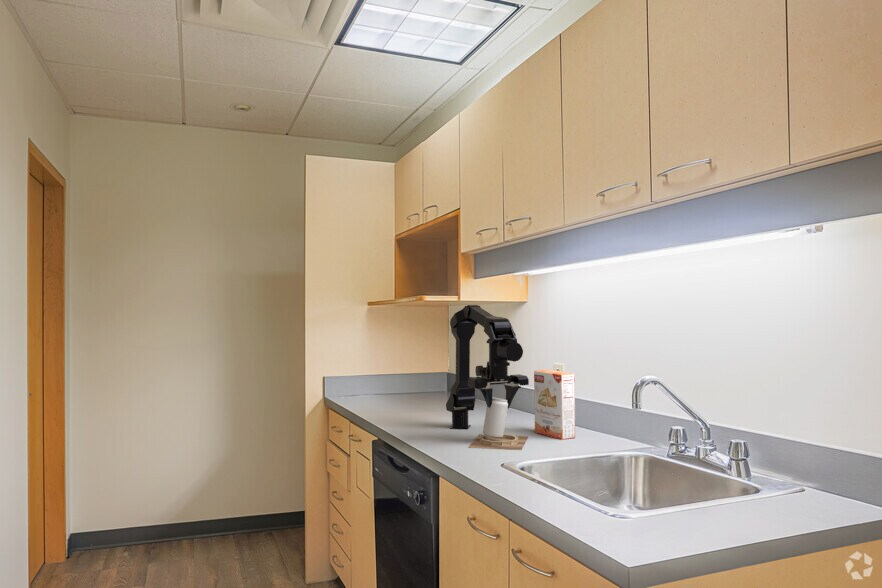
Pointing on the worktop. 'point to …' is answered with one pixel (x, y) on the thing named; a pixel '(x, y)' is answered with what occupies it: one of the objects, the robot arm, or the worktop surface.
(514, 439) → the can holder
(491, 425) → the beverage can
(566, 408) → the cracker box
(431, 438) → the worktop surface
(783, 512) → the worktop surface
